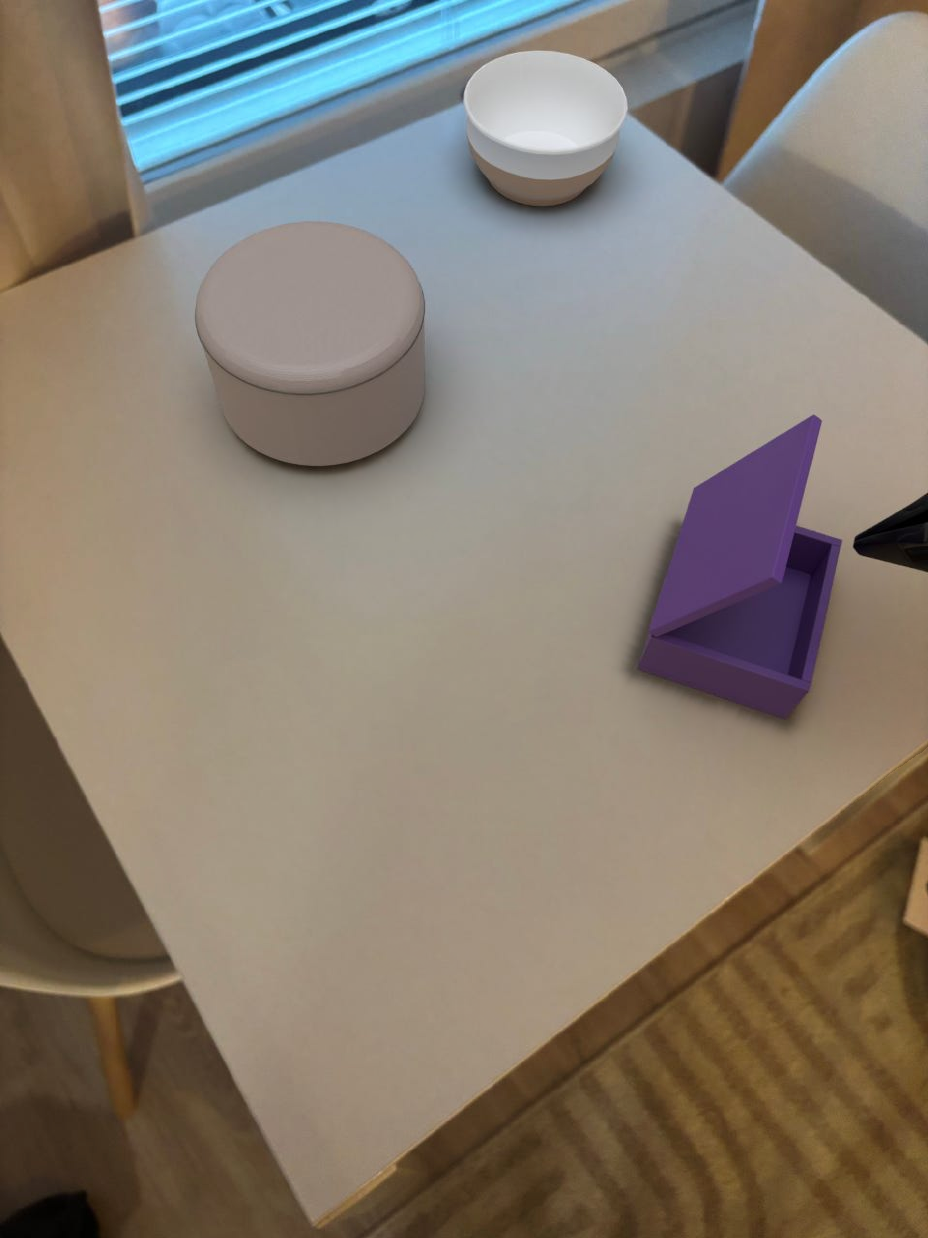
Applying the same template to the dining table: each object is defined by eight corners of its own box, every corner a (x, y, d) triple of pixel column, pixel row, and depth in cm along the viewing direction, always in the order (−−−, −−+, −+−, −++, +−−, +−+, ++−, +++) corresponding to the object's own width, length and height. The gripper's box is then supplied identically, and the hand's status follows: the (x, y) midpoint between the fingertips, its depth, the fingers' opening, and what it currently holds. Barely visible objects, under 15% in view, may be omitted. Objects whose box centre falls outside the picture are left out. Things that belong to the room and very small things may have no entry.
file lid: (822, 420, 62) (814, 413, 62) (782, 583, 56) (772, 576, 56) (701, 493, 72) (693, 487, 72) (656, 637, 66) (647, 632, 66)
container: (180, 388, 83) (143, 283, 73) (338, 291, 89) (326, 182, 79) (307, 514, 77) (287, 420, 67) (468, 401, 83) (472, 299, 73)
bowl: (485, 235, 93) (489, 163, 86) (443, 135, 101) (444, 61, 94) (636, 209, 96) (652, 137, 89) (585, 113, 103) (596, 39, 96)
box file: (818, 574, 76) (842, 539, 71) (785, 719, 70) (809, 691, 65) (680, 531, 77) (696, 493, 73) (636, 668, 71) (650, 637, 67)
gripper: (1097, 261, 50) (821, 360, 62) (1075, 539, 41) (761, 592, 53) (1163, 402, 55) (898, 468, 67) (1155, 672, 47) (854, 693, 59)
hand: (856, 546), depth 61 cm, fingers closed
